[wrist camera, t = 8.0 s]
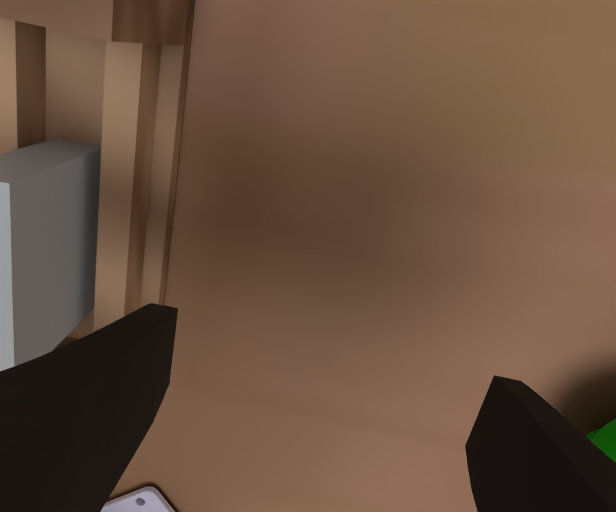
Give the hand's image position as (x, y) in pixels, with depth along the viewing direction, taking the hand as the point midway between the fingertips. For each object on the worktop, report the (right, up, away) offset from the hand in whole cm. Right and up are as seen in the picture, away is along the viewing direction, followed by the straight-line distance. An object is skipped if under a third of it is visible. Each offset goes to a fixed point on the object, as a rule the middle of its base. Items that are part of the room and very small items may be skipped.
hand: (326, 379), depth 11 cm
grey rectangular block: (-10, +4, +10) cm, 14 cm away
